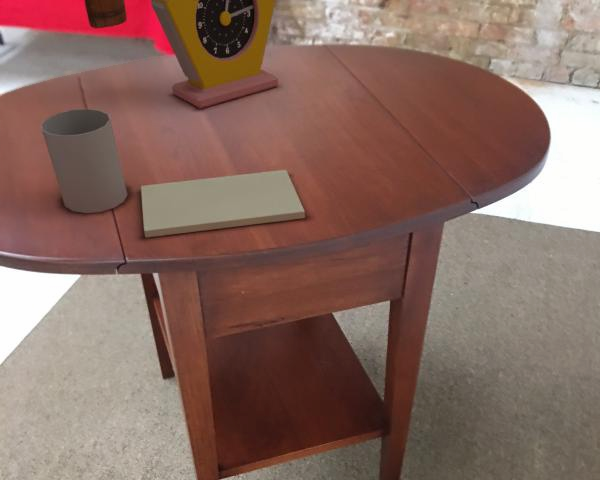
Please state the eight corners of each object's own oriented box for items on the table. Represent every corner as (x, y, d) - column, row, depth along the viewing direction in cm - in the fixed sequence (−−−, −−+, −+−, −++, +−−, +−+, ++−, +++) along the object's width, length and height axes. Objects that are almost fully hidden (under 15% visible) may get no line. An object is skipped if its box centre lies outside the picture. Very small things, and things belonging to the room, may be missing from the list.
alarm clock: (186, 114, 105) (164, -42, 90) (158, 98, 110) (133, -52, 95) (291, 83, 114) (287, -63, 99) (261, 70, 119) (253, -71, 104)
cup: (95, 177, 89) (76, 104, 82) (139, 191, 86) (124, 116, 79) (50, 203, 84) (26, 127, 77) (96, 218, 81) (75, 141, 74)
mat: (145, 237, 77) (143, 230, 77) (142, 192, 86) (140, 185, 85) (304, 218, 80) (304, 211, 79) (286, 176, 88) (286, 169, 88)
